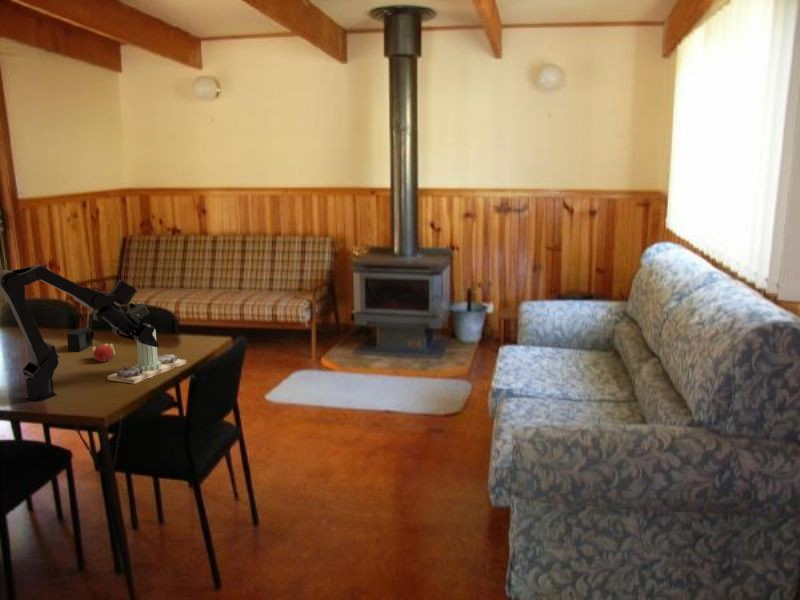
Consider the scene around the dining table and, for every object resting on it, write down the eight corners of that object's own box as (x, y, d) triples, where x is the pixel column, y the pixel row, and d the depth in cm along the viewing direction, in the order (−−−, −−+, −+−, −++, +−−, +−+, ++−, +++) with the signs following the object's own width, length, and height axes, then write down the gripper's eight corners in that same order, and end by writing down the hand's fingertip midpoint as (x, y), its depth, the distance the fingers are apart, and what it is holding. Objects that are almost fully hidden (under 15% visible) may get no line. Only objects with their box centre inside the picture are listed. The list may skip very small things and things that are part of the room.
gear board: (134, 383, 214) (132, 369, 213) (107, 379, 218) (106, 365, 217) (186, 363, 237) (185, 350, 236) (162, 359, 241) (161, 347, 240)
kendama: (92, 356, 251) (89, 362, 234) (95, 339, 251) (91, 344, 234) (115, 357, 254) (113, 363, 237) (117, 341, 254) (115, 346, 237)
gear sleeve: (158, 370, 224) (155, 332, 221) (132, 371, 223) (129, 333, 220) (163, 363, 232) (161, 327, 229) (139, 364, 231) (136, 327, 228)
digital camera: (82, 352, 251) (81, 334, 250) (68, 352, 251) (66, 334, 250) (95, 345, 261) (94, 327, 260) (82, 345, 262) (80, 327, 260)
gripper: (146, 300, 214) (180, 328, 224) (118, 293, 226) (150, 320, 236) (124, 329, 209) (159, 356, 220) (96, 320, 221) (131, 346, 232)
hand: (150, 343), depth 227 cm, fingers open, 9 cm apart
